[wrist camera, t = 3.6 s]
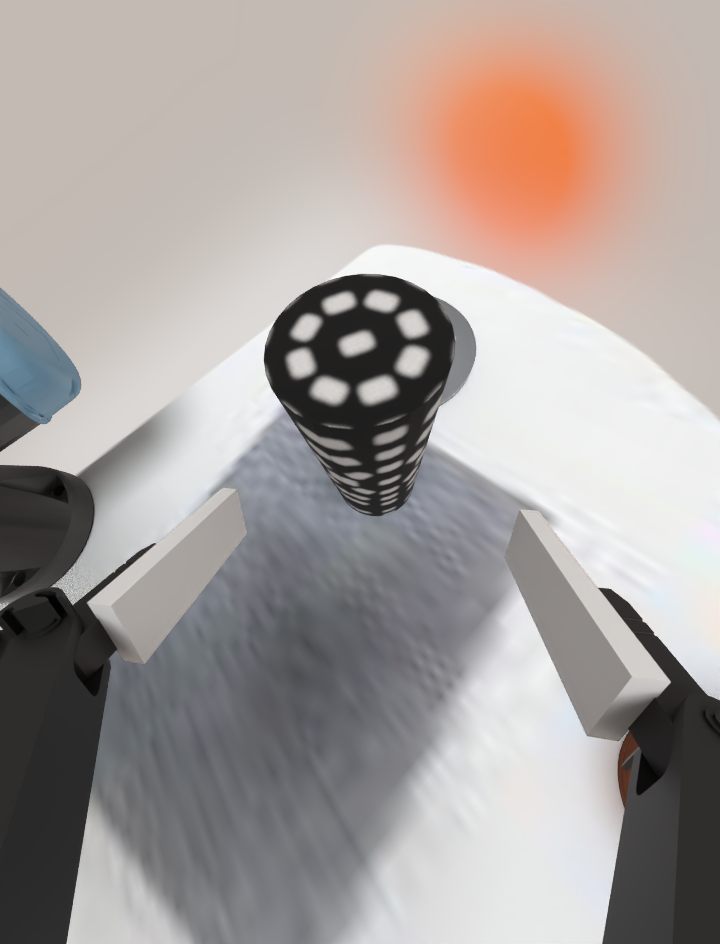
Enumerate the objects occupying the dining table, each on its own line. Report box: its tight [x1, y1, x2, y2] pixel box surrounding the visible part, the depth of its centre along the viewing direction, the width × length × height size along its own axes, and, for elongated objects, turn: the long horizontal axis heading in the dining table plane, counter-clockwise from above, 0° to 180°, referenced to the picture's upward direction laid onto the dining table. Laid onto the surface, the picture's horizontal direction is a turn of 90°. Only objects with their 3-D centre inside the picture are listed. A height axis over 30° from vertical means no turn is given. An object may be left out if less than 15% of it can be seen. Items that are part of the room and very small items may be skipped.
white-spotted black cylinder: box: [264, 274, 455, 516], centre depth 21 cm, size 8×8×20 cm
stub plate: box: [434, 297, 476, 406], centre depth 35 cm, size 18×18×3 cm
